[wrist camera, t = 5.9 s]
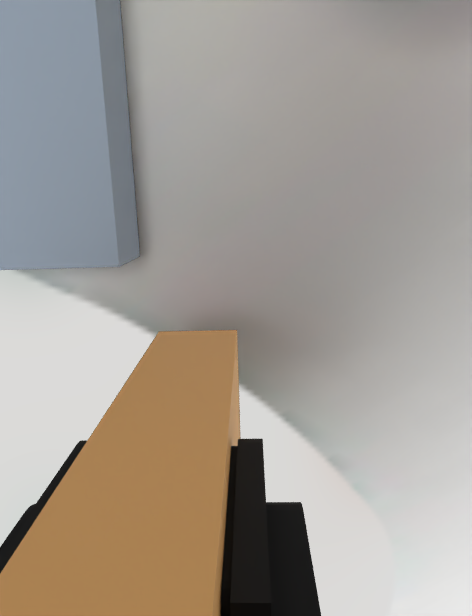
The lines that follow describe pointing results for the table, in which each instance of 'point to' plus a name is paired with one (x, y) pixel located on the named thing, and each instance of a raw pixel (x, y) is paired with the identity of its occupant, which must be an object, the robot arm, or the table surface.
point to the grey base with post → (64, 137)
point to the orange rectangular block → (141, 495)
